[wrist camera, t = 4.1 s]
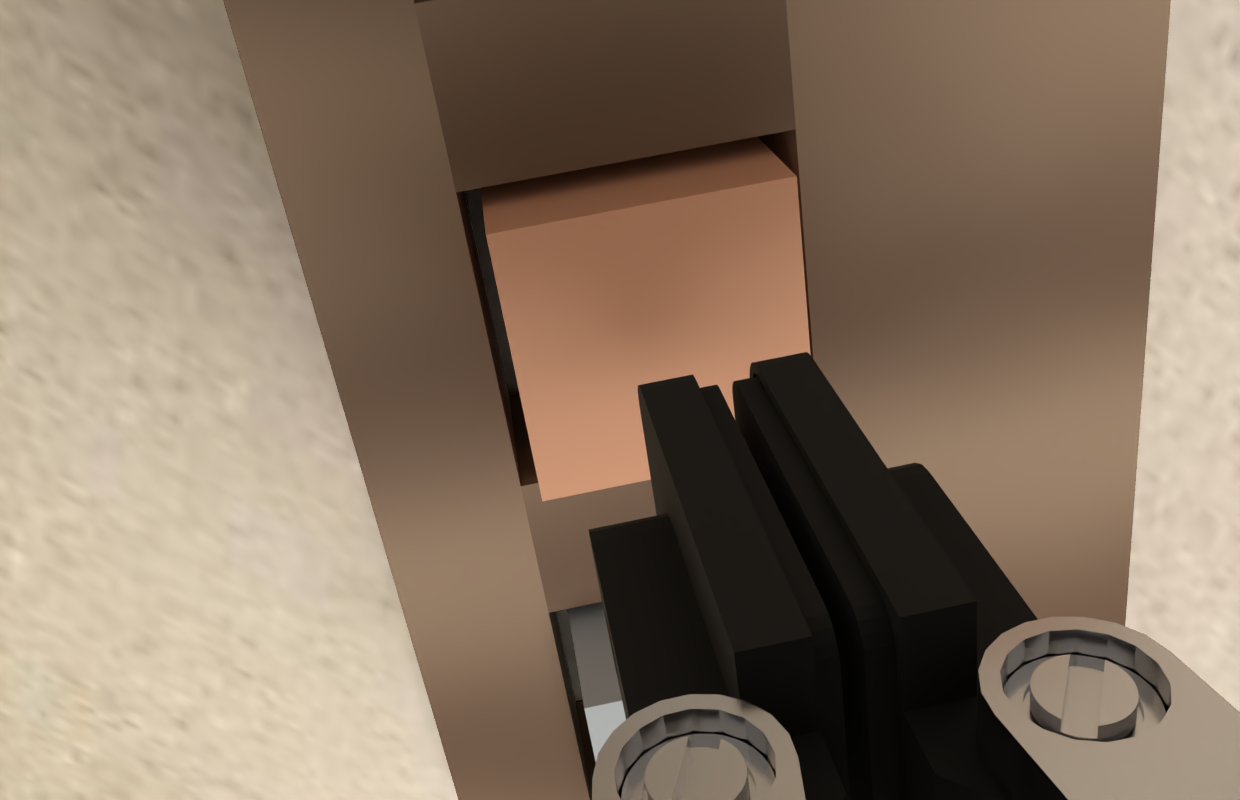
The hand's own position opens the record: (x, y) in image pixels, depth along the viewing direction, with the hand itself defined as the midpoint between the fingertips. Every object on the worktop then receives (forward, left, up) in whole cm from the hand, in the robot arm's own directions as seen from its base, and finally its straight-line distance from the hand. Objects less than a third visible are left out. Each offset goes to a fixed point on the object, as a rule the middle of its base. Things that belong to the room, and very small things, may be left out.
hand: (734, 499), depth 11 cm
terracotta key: (0, 0, -8) cm, 8 cm away
